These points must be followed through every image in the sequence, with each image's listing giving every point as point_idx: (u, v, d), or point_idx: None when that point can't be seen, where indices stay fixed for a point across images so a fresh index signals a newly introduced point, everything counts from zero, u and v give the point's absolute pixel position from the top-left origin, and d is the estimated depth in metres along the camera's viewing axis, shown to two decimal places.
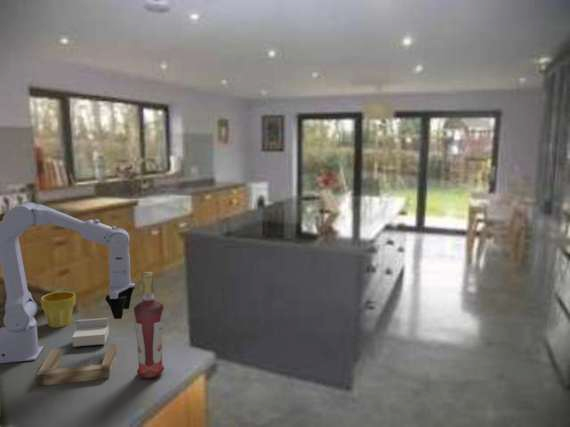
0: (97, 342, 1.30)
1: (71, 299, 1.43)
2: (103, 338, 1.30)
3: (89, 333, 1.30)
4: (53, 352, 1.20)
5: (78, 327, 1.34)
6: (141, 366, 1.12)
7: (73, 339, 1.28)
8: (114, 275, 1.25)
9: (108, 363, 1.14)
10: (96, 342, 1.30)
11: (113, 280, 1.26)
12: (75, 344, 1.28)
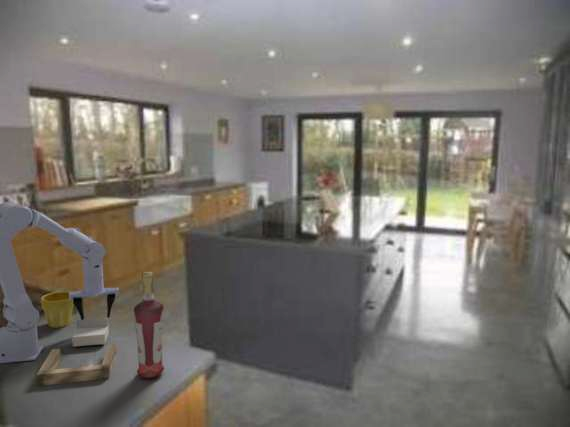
0: (97, 342, 1.30)
1: None
2: (103, 338, 1.30)
3: (89, 333, 1.30)
4: (53, 352, 1.20)
5: (78, 327, 1.34)
6: (141, 366, 1.12)
7: (73, 339, 1.28)
8: None
9: (108, 363, 1.14)
10: (96, 342, 1.30)
11: None
12: (75, 344, 1.28)
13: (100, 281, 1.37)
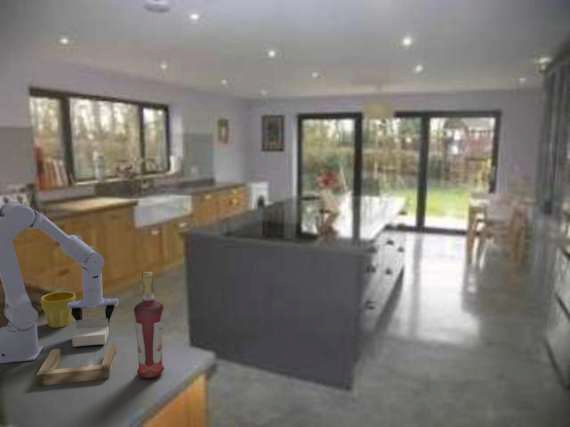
0: (97, 342, 1.30)
1: (71, 299, 1.43)
2: (103, 338, 1.30)
3: (89, 333, 1.30)
4: (53, 352, 1.20)
5: (78, 327, 1.34)
6: (141, 366, 1.12)
7: (73, 339, 1.28)
8: None
9: (108, 363, 1.14)
10: (96, 342, 1.30)
11: None
12: (75, 344, 1.28)
13: (99, 292, 1.35)
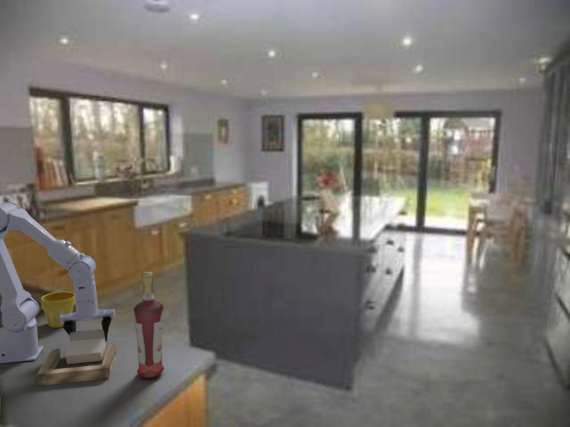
0: (93, 359, 1.20)
1: (71, 299, 1.43)
2: (99, 355, 1.20)
3: (83, 349, 1.20)
4: (53, 352, 1.20)
5: (72, 339, 1.23)
6: (141, 366, 1.12)
7: (67, 358, 1.18)
8: None
9: (108, 363, 1.14)
10: (92, 360, 1.20)
11: None
12: (69, 362, 1.19)
13: (92, 303, 1.23)
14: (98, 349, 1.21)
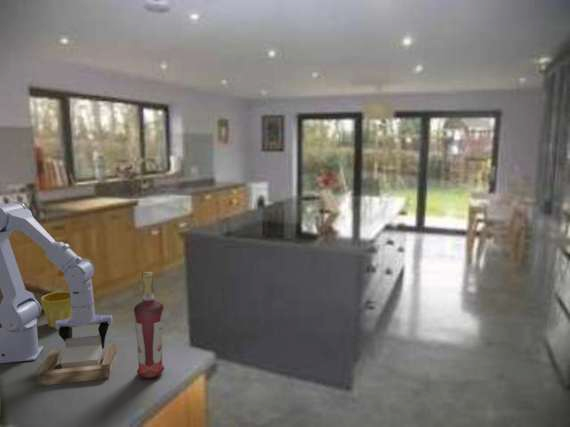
0: None
1: None
2: (96, 363, 1.16)
3: (80, 356, 1.16)
4: (53, 352, 1.20)
5: (68, 346, 1.19)
6: (141, 366, 1.12)
7: (62, 365, 1.14)
8: None
9: (108, 363, 1.14)
10: None
11: None
12: None
13: (89, 308, 1.19)
14: (95, 356, 1.17)
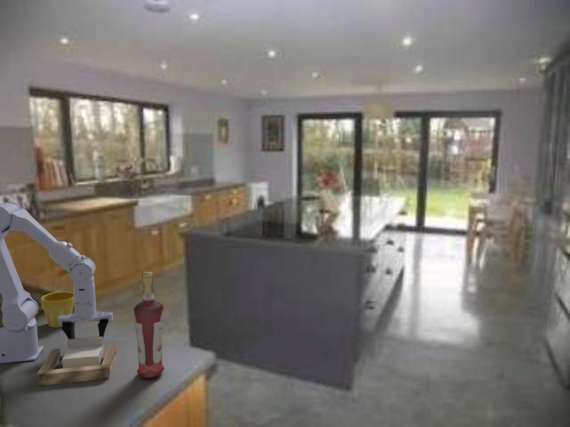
0: (90, 364, 1.17)
1: (71, 299, 1.43)
2: (97, 360, 1.17)
3: (81, 354, 1.17)
4: (53, 352, 1.20)
5: (69, 347, 1.21)
6: (141, 366, 1.12)
7: (63, 361, 1.15)
8: None
9: (108, 363, 1.14)
10: (89, 365, 1.17)
11: None
12: (65, 367, 1.15)
13: (91, 305, 1.24)
14: (96, 354, 1.18)
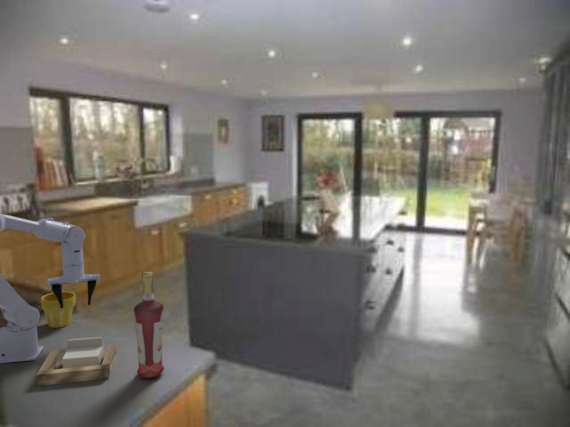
0: (90, 364, 1.17)
1: (71, 299, 1.43)
2: (97, 360, 1.17)
3: (81, 354, 1.17)
4: (53, 352, 1.20)
5: (69, 347, 1.21)
6: (141, 366, 1.12)
7: (63, 361, 1.15)
8: None
9: (108, 363, 1.14)
10: (89, 365, 1.17)
11: None
12: (65, 367, 1.15)
13: (80, 267, 1.32)
14: (96, 354, 1.18)
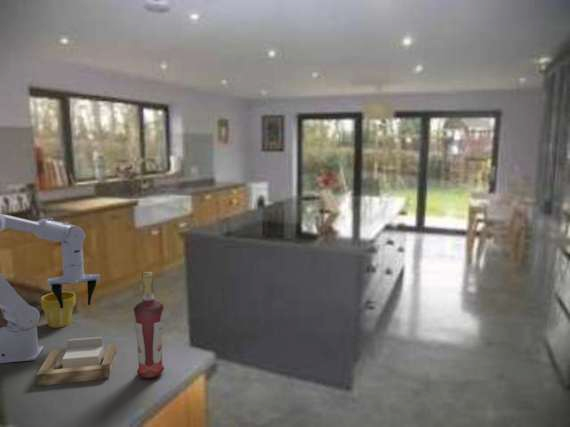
0: (90, 364, 1.17)
1: (71, 299, 1.43)
2: (97, 360, 1.17)
3: (81, 354, 1.17)
4: (53, 352, 1.20)
5: (69, 347, 1.21)
6: (141, 366, 1.12)
7: (63, 361, 1.15)
8: None
9: (108, 363, 1.14)
10: (89, 365, 1.17)
11: None
12: (65, 367, 1.15)
13: (80, 267, 1.32)
14: (96, 354, 1.18)
